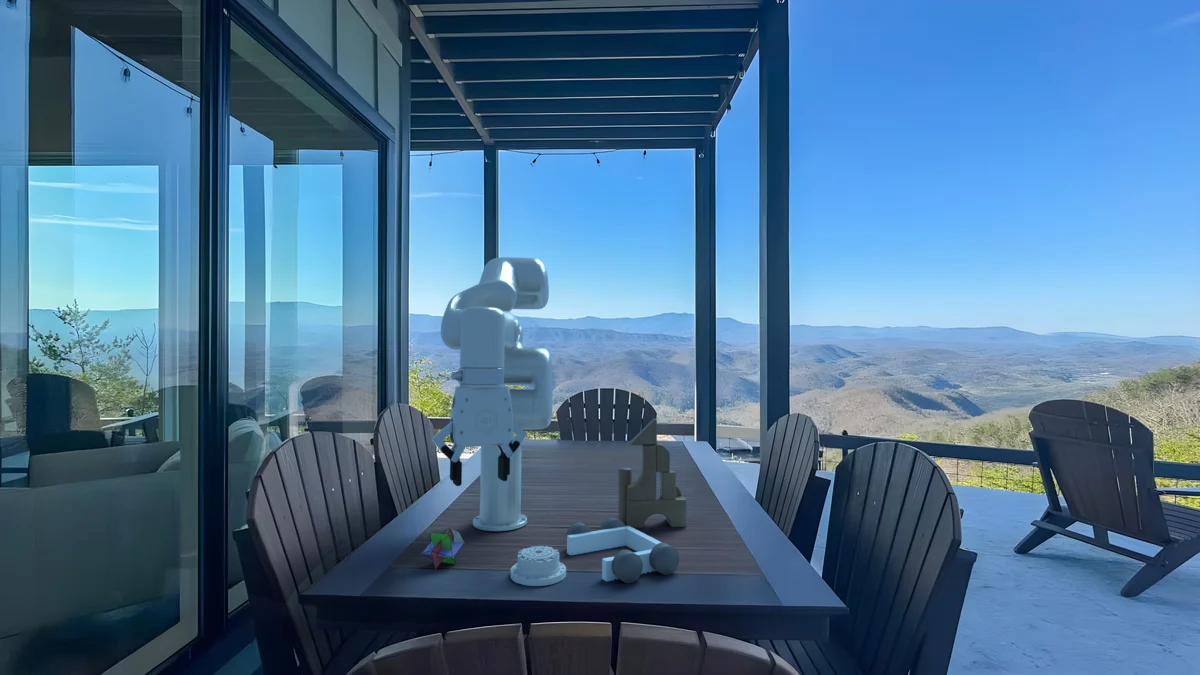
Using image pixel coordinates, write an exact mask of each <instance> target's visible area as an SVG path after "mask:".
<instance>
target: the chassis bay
mask: <svg viewBox="0 0 1200 675" xmlns="http://www.w3.org/2000/svg"><path fill="white" fill-rule="evenodd" d="M599 528H600V529H599V530H594V531H593V529H592V528H591V527H590V526H588V525H586V524H585V523H584V522H581V521H579V522H578V521H577V522H575V523H572V524H571V525H570V526H569V528H568V529H567V531H566V533H565V534H566V535H565V537H566V554H567V555H569V556H570V555H571V556H574V555H575V556H576V555H581V554H584V553H585V554H587V553H591V552H597V551H602V550H607V549H608V550H609V549H613V548H619V546H620V547H624V546H626V547H628V548H630V549H632V550H634V552H633V551H631V550H629V549H621V550H620V551H618V552H616V554H615V555H614V556H610V557H603V558H602V560H601V568H602V569H601V579H602V580H603V581H605V582H611V581H616V580H621V581H622V582H623V583H626V584H632V583H635V582H637V580H638V579H639V578H640V577H641V575H643V573H644V574H648V573H647V572H649V573H652V571H653V572H658V573H660V574H661V575H664V576H668V575H671V574H672V573H675V571H676V569H677V568H678V567H679V563H680V553H679V551H678V549H677V548H675V547H673V546H672V545H670V544H668V543H666V542H661V541H660V540H658V539H656V538H654V537H652V536H650V535H648V534H646V533H644V532H642V531H640V530H638V529H637V528H632V527H630V526H627V525H626V523H623V522H622V521H620V520H618V518H616V517H607V518H606V519H605V520H604V521H603V522H602V523H601V526H600V527H599ZM615 579H616V580H615ZM631 582H632V583H631Z"/></svg>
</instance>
